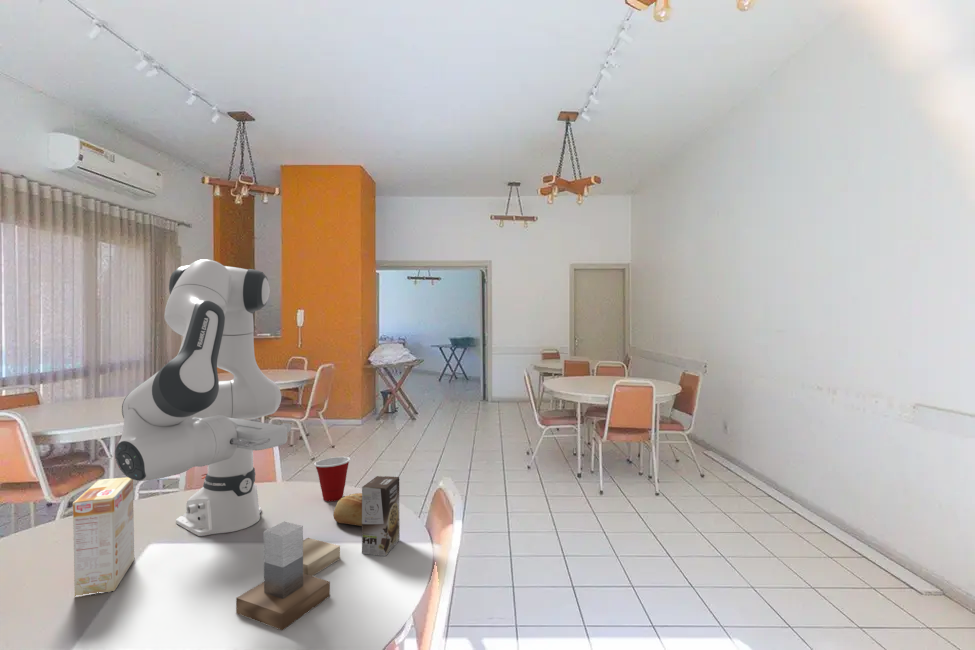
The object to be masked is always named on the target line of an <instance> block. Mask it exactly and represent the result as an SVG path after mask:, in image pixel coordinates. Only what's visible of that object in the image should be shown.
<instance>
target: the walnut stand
mask: <svg viewBox="0 0 975 650" xmlns="http://www.w3.org/2000/svg"><path fill="white" fill-rule="evenodd" d="M330 597H331V581H329V580H326V579H323V578H318V577H315V576H314V575H313V576H309V575H306V574H303V586H302V587H301V588H299V589H298V590H296V591H295V592H293V593H292V594H290V595H289V596H287V597H286V598H284V599H281V598H278V597H275V596H272V595H269V594H266V593H264V581H262V582H260V583H259V584H257V585H256V586H253V587H252V588H250V589H249V590H247V591H245V592H244V593H241V594H240V595H239V596H237V597H235V603H236V606H235V609H236V610H235V611H236V613H235V614H237V615H239V616H243V617H244V618H249V619H251V620H253V621H256V622H259V623H262V624H264V625H265V626H266V625H267V626H269V627H272V628H275V629H278V630H280V631H283V630H285V629H286V628H288V627H289V626H290V625H292V624H293V623H295V622H296V621H297V620H299V619H300V618H302V617H304V616H305V615H306V614H307V613H309V612H310V611H312V610H313V609H314V608H316V607H317V606H319V605H320V604H322V603H323V602H324V601H326V600H327V599H328V598H330Z"/></svg>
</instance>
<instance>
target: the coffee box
mask: <svg viewBox="0 0 975 650" xmlns="http://www.w3.org/2000/svg"><path fill="white" fill-rule="evenodd" d="M361 493H362V526H361V554H363V555H372V556H380V557H386V556H387V555H388V554H389V553H390V551H392V549H393V548H394V547H395V546H396V545H397V543H398V542H399V541H400V538H401V537H400V536H401V535H400V530H401V529H400V525H401V524H400V523H401V522H400V477H399V476H387V475H386V476H381V475H377V476H374V478H373V479H371V480H370V481H368V482H367V483H365V484H364V485H362V486H361Z"/></svg>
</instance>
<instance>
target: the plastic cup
mask: <svg viewBox="0 0 975 650" xmlns="http://www.w3.org/2000/svg"><path fill="white" fill-rule="evenodd" d="M350 461H351V458H350V457H349V456H334V457H332V456H331V457H329V458H323V459H320V460H317V461H315V462H314V463H313V465H314V467H315V470H316V472H317V475H318V481H319V486H320V490H321V495H322V499H323V501H324V502H330V503H331V502H338V501H339V500H340V499H341V498H343V497H344V494H345V493H344V492H345V487H346V482H347V481H346V479H347V474H348V469H349V463H350Z"/></svg>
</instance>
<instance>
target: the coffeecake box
mask: <svg viewBox="0 0 975 650" xmlns="http://www.w3.org/2000/svg"><path fill="white" fill-rule="evenodd" d="M71 504H72V516H73V517H72V519H73V520H72V523H73V525H72V526H73V527H72V529H73V567H74V568H73V569H74V570H73V572H74V574H73V575H74V577H73V578H74V580H73V581H74V583H73V584H74V597H75V596H76V595H83V594H89V593H97V592H98V593H99V592H108V593H111V592H110V591H113V592H115V590H116V589H117V588H118V586H119V585H120V583H121V581H122V580H123V578H124V577H125V575H126V573H127V572H128V570H129V568H130V567H131V566H132V564H133V562H134V561H135V522H134V519H135V518H134V480H133V479H130V478H129V477H127V476H125V477H115V478H104V479H103V478H102V479H98V480H97V481H96V482H95V483H93V484H92V485H91V486H90V487H89V488H87V490H86V491H84V492H83V493H82V494H80V496H79V497H77V499H75V500H74V501H73V502H72V503H71Z"/></svg>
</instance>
